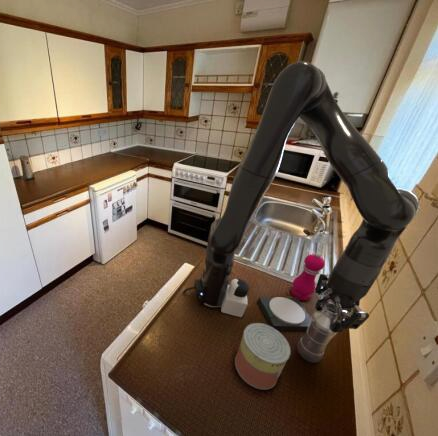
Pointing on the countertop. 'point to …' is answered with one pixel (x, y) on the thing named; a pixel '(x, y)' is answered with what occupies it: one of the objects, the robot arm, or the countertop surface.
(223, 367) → the countertop surface
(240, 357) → the canned food
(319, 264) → the pepper mill
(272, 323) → the scale
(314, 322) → the plastic bottle
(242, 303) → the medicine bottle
